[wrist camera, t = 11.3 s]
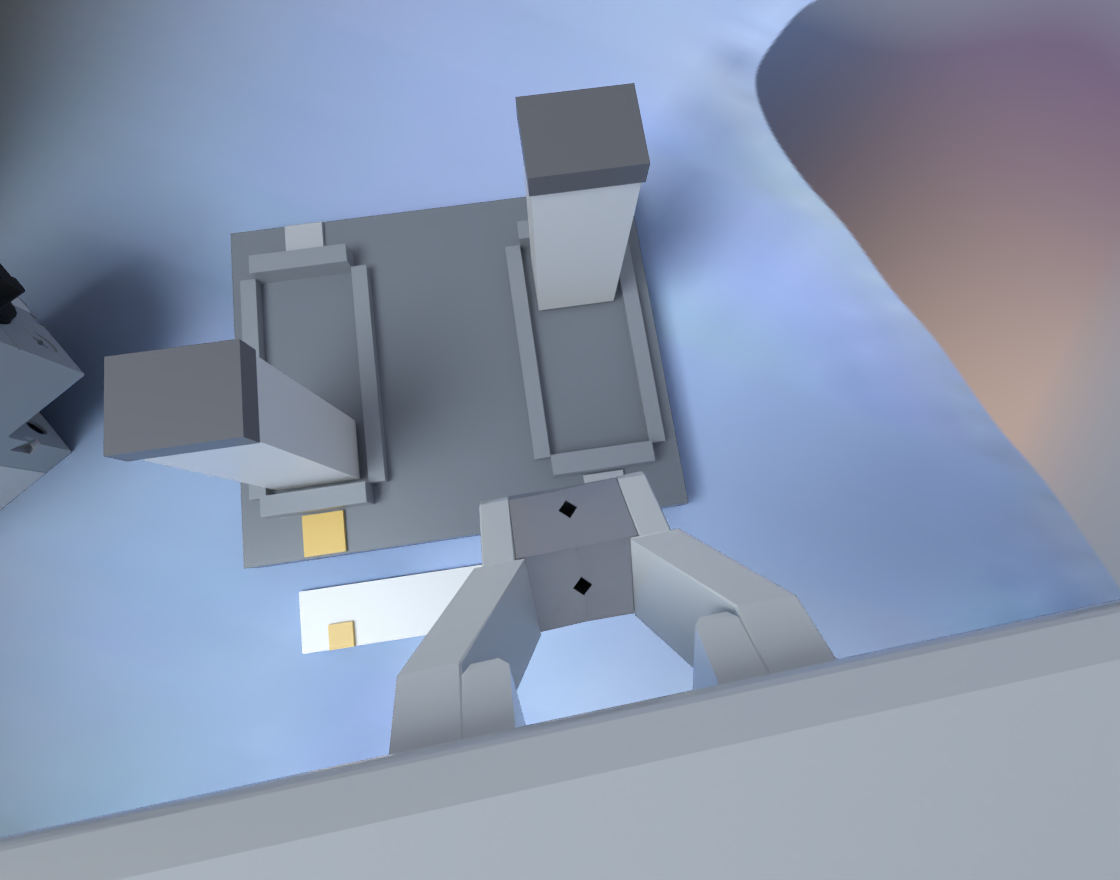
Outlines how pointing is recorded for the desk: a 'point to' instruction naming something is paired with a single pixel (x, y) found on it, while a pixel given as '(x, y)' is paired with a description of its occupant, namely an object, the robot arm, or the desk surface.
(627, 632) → the desk surface
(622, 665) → the desk surface
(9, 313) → the circuit breaker
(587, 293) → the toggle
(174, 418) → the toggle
